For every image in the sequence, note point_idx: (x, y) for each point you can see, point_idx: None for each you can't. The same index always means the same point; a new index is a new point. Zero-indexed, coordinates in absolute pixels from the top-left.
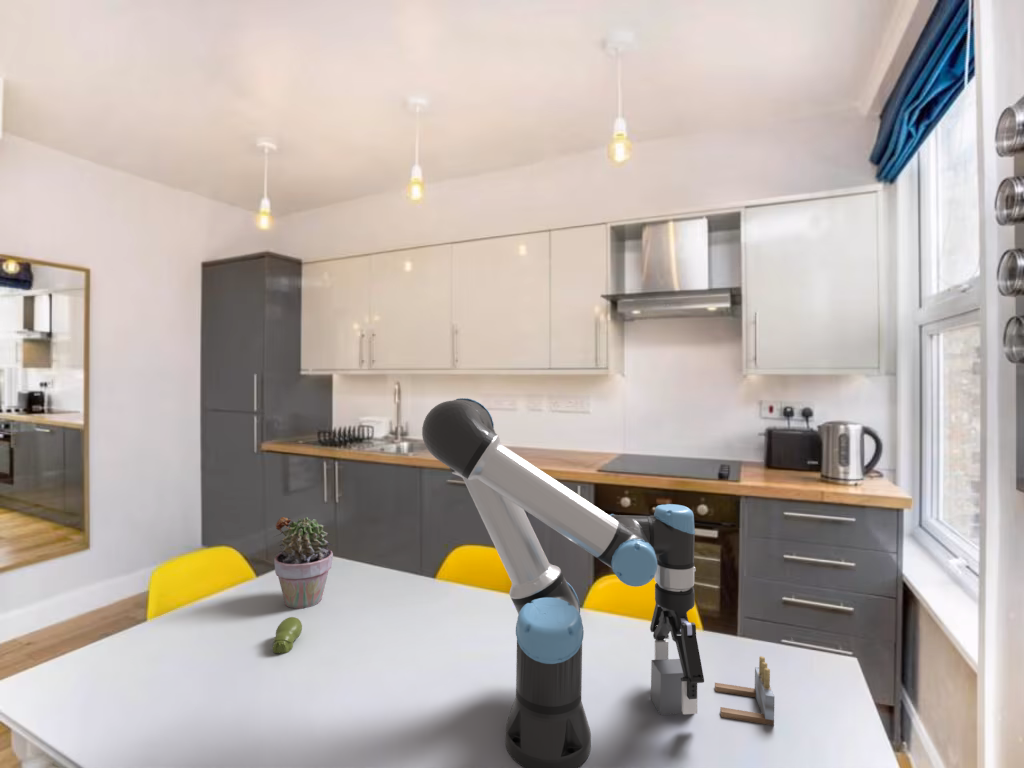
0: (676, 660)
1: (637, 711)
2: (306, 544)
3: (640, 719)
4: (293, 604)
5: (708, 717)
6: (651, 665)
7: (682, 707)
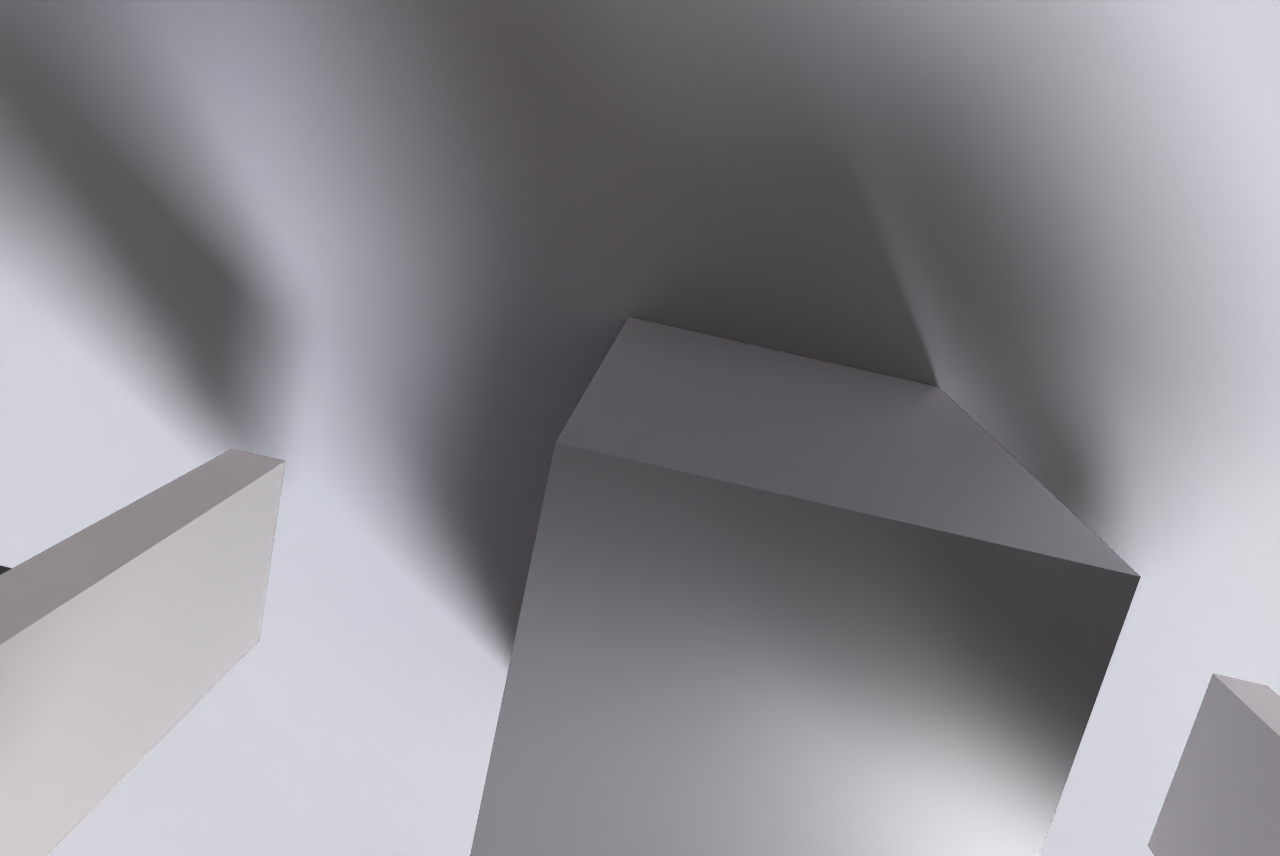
0: None
1: (773, 70)
2: None
3: (621, 19)
4: None
5: (444, 790)
6: (1085, 529)
7: (220, 474)
